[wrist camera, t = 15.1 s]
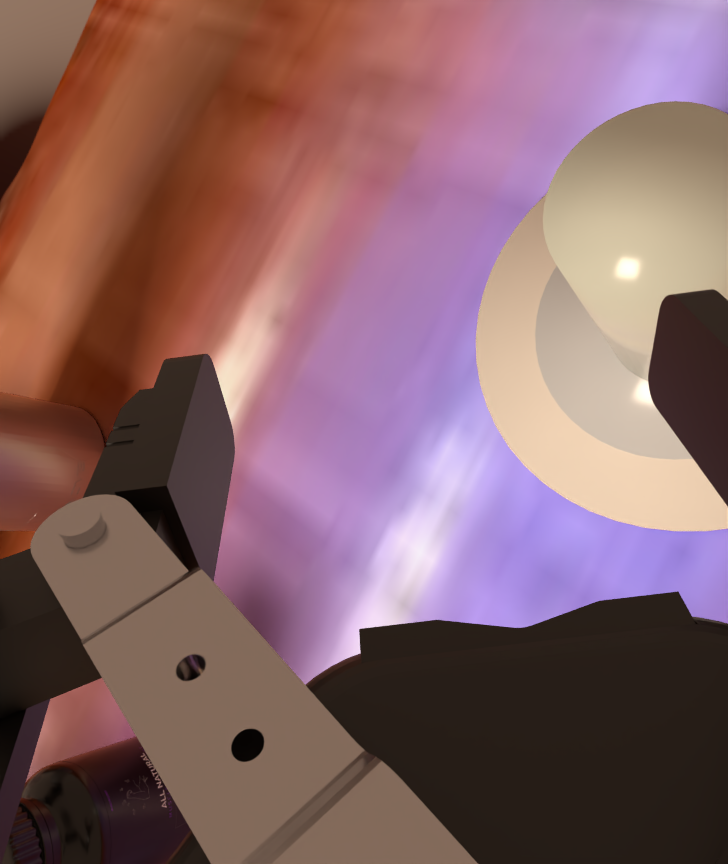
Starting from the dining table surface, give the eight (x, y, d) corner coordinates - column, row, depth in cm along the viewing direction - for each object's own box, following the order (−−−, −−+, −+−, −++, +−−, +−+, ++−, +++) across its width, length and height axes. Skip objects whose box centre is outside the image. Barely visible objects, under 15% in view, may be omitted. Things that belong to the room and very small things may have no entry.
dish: (427, 437, 34) (420, 435, 33) (567, 108, 33) (563, 98, 32) (815, 611, 25) (818, 613, 24) (1030, 168, 24) (1040, 156, 23)
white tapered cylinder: (588, 361, 30) (513, 272, 19) (639, 246, 29) (589, 90, 19) (718, 404, 27) (710, 326, 17) (776, 277, 26) (806, 115, 16)
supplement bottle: (236, 752, 37) (47, 836, 27) (209, 869, 37) (8, 1000, 27) (155, 704, 41) (-41, 763, 30) (129, 812, 41) (-76, 908, 30)
